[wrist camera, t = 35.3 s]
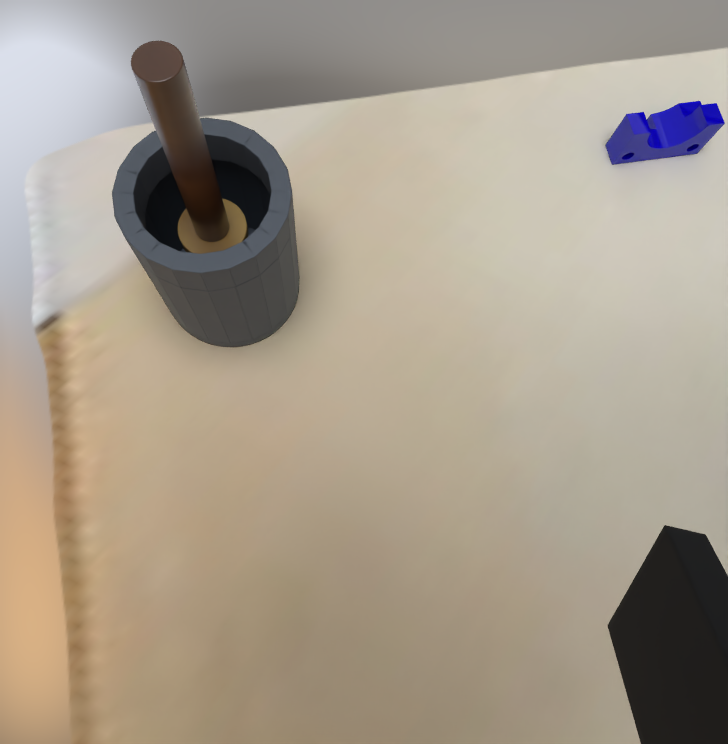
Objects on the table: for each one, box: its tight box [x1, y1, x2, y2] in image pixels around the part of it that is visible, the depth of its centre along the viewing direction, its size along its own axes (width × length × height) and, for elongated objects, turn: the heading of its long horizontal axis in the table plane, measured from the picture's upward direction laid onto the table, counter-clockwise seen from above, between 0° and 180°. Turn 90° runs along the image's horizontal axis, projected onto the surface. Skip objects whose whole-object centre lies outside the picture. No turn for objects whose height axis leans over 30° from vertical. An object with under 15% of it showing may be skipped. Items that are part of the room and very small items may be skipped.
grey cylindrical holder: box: [112, 118, 299, 347], centre depth 42 cm, size 10×10×13 cm
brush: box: [131, 41, 248, 254], centre depth 37 cm, size 4×4×22 cm
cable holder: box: [605, 101, 725, 165], centre depth 53 cm, size 8×4×4 cm, turn 100°
